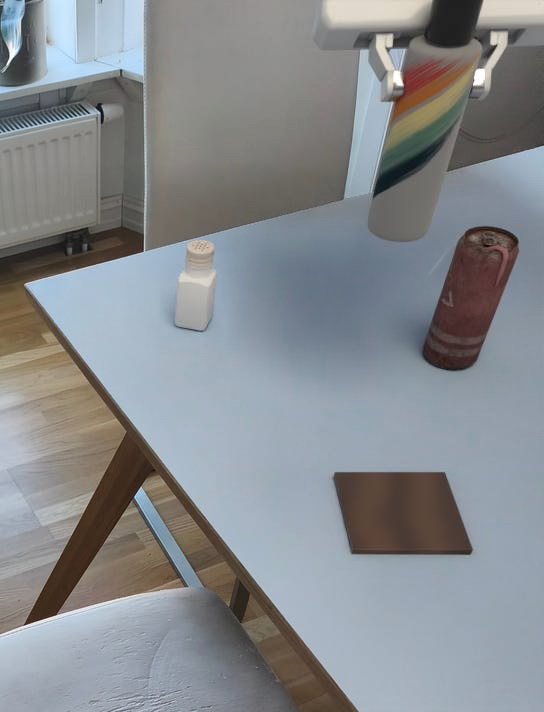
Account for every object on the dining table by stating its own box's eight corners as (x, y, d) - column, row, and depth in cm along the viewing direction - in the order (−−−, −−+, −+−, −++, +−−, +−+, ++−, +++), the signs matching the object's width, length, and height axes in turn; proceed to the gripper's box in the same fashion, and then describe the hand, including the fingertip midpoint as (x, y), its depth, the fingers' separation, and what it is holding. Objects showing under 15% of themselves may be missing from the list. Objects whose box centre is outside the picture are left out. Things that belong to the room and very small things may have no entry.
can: (446, 378, 99) (489, 258, 88) (410, 349, 103) (448, 231, 92) (489, 364, 100) (537, 245, 90) (452, 336, 104) (494, 218, 93)
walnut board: (443, 476, 89) (445, 471, 88) (471, 554, 82) (473, 550, 82) (333, 476, 89) (334, 471, 89) (351, 554, 82) (353, 549, 82)
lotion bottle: (380, 209, 85) (443, -46, 70) (437, 223, 83) (515, -35, 67) (356, 233, 82) (415, -26, 67) (414, 249, 80) (490, -15, 65)
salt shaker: (172, 327, 107) (178, 251, 100) (182, 310, 109) (188, 235, 102) (204, 333, 106) (212, 257, 99) (213, 316, 108) (222, 240, 101)
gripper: (324, -106, 69) (318, 80, 71) (590, -114, 68) (578, 75, 70) (306, -53, 76) (300, 118, 77) (549, -59, 75) (539, 114, 76)
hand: (434, 98), depth 73 cm, fingers closed on lotion bottle, 5 cm apart
